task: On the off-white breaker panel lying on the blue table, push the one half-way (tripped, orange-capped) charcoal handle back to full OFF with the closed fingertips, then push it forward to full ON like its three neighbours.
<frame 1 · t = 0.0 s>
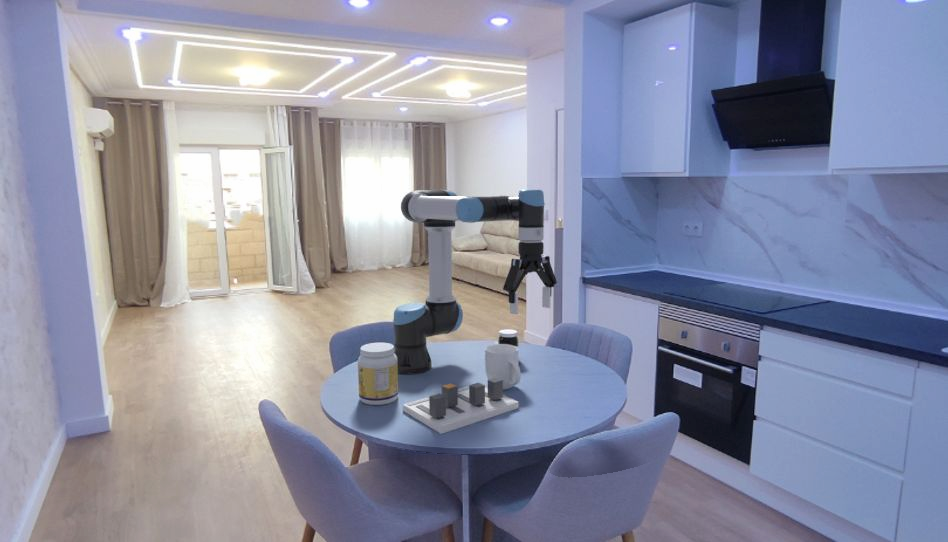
hand: (530, 310, 168), 28 cm above the table, fingers open, 13 cm apart
breaker 4: (495, 388, 166), point 5 cm above the table, slide at 8.0 cm
panel: (461, 409, 164), on the table
breaker 2: (449, 395, 160), point 5 cm above the table, slide at 4.0 cm
mug: (503, 388, 182), on the table
spread jar: (503, 361, 210), on the table
supplement tub: (379, 399, 173), on the table
breaker 3: (477, 394, 162), point 5 cm above the table, slide at 8.0 cm
breaker 1: (437, 405, 153), point 5 cm above the table, slide at 8.0 cm
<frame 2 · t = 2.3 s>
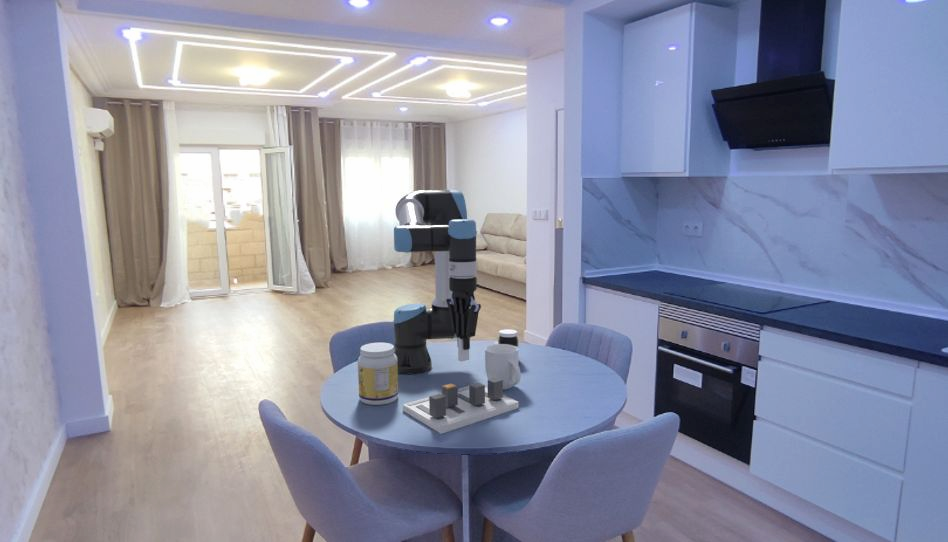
hand: (463, 359, 153), 18 cm above the table, fingers closed
nothing on the table moved.
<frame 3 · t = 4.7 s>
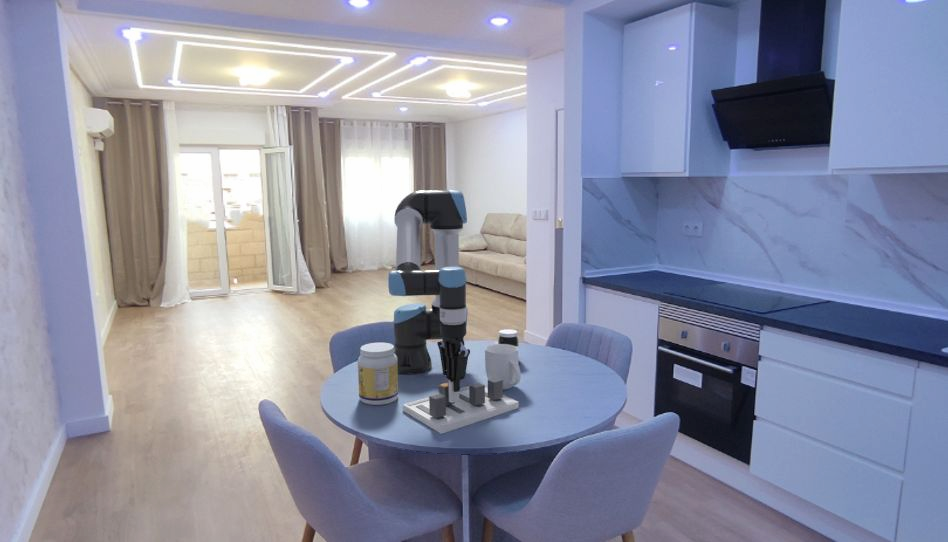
hand: (454, 401, 159), 4 cm above the table, fingers closed
breaker 2: (446, 393, 162), point 5 cm above the table, slide at 2.5 cm, touching gripper
everything else where it was.
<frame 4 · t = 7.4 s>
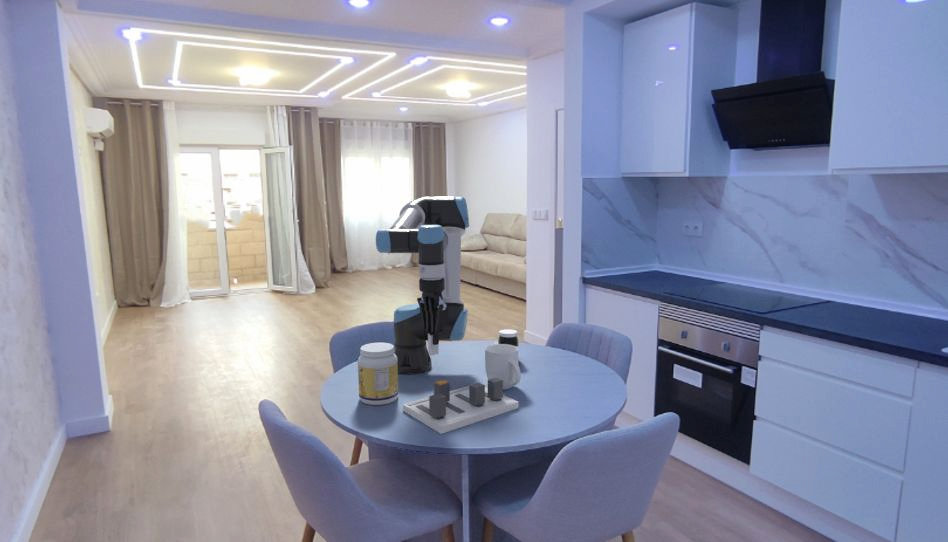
hand: (433, 354, 167), 16 cm above the table, fingers closed
breaker 2: (441, 391, 164), point 5 cm above the table, slide at 0.0 cm
everything else where it was.
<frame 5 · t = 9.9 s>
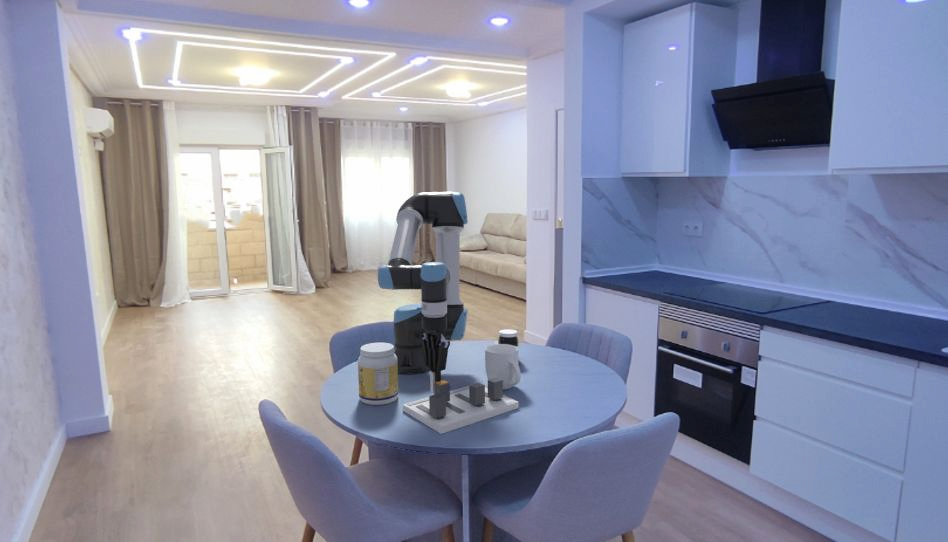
hand: (435, 391, 166), 5 cm above the table, fingers closed
breaker 2: (442, 391, 163), point 5 cm above the table, slide at 0.1 cm, touching gripper
everything else where it was.
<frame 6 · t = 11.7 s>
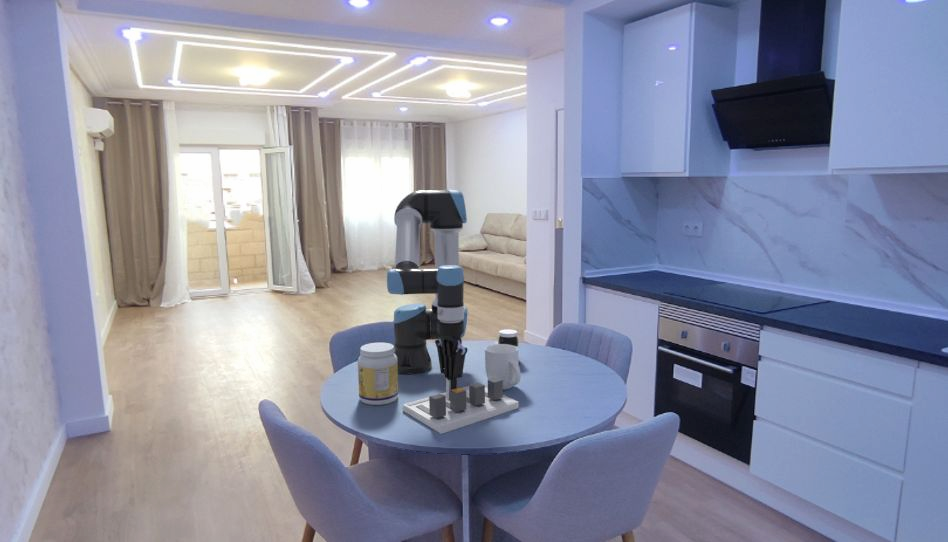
hand: (451, 399, 160), 5 cm above the table, fingers closed
breaker 2: (458, 399, 157), point 5 cm above the table, slide at 8.1 cm, touching gripper
everything else where it was.
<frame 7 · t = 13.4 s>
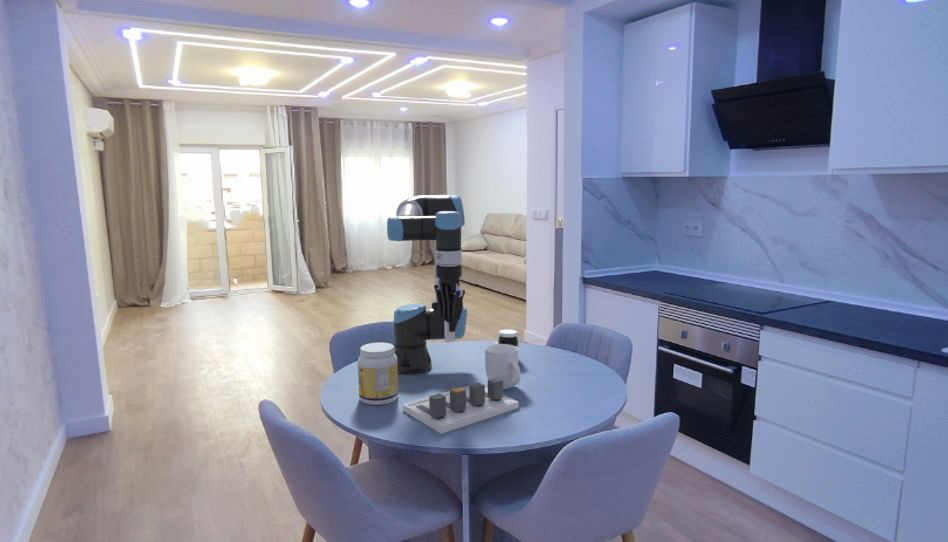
hand: (449, 341, 166), 20 cm above the table, fingers closed
breaker 2: (458, 399, 157), point 5 cm above the table, slide at 8.0 cm
everything else where it was.
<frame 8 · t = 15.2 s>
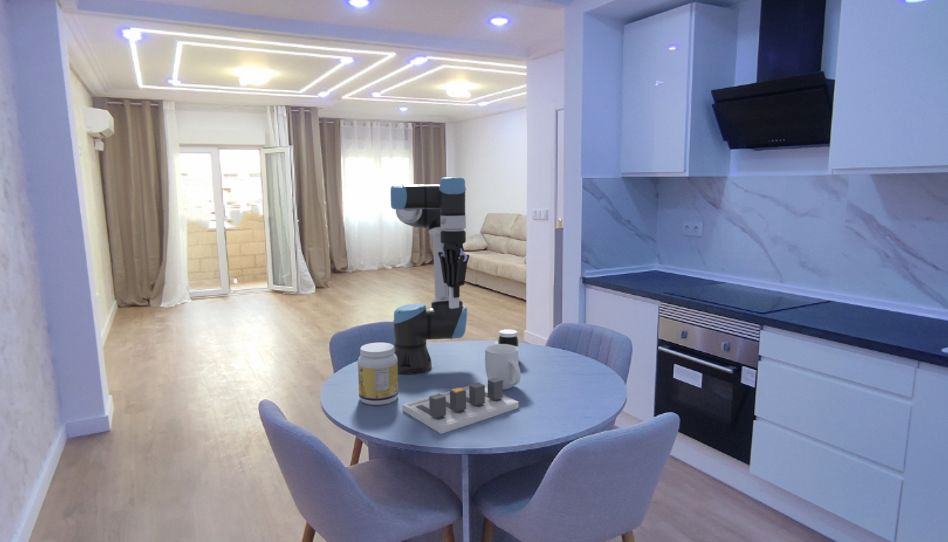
hand: (454, 307, 167), 29 cm above the table, fingers closed
nothing on the table moved.
at the end: breaker 2 slide at 8.0 cm; breaker 3 slide at 8.0 cm; breaker 1 slide at 8.0 cm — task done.
